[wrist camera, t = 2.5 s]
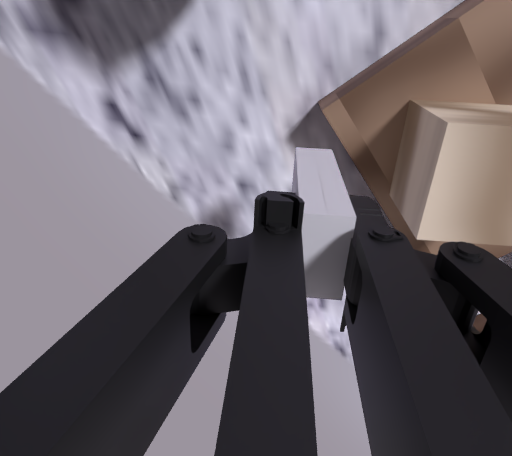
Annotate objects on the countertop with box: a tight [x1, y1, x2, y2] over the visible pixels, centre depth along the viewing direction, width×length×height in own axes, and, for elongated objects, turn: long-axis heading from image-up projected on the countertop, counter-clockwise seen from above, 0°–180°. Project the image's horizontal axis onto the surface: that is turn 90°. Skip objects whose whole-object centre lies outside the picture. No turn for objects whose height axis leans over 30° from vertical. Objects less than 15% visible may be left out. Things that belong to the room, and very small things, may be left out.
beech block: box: [389, 100, 512, 246], centre depth 18 cm, size 5×5×5 cm
